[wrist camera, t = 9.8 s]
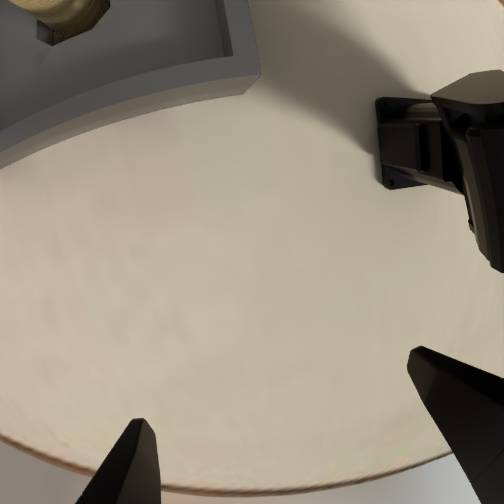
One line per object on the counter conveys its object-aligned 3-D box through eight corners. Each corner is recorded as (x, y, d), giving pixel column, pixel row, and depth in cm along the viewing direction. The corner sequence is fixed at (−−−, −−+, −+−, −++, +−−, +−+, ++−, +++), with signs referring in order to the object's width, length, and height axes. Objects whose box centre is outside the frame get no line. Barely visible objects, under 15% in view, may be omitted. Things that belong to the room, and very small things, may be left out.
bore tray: (209, -83, 10) (215, -127, 5) (242, 94, 16) (261, 74, 11) (-10, -4, 8) (-44, -22, 3) (-8, 173, 14) (-57, 188, 9)
